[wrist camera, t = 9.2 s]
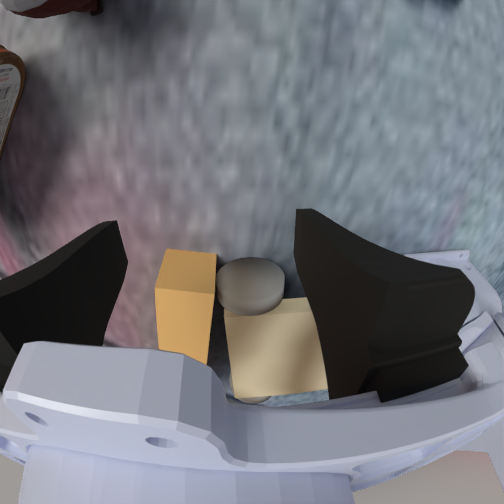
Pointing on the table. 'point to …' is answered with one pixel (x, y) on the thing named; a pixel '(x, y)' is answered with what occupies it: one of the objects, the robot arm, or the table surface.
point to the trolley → (267, 333)
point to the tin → (9, 89)
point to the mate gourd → (51, 7)
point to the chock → (185, 302)
